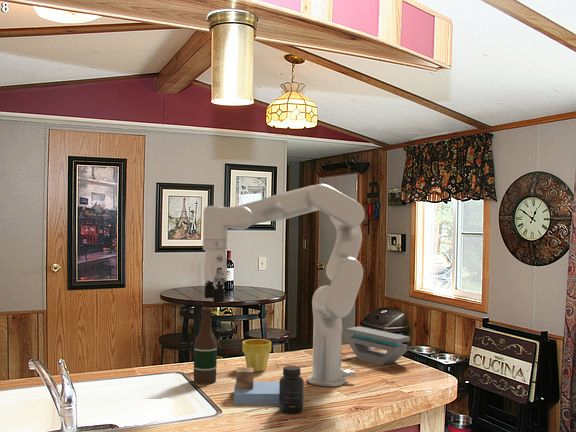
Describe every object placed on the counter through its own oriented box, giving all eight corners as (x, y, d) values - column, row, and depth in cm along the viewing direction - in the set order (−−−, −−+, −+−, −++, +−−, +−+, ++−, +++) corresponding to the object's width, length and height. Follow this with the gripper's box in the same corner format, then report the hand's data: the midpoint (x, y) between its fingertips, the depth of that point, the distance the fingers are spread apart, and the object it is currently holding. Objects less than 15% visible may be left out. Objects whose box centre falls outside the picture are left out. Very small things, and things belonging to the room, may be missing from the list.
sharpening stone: (409, 366, 207) (409, 336, 208) (396, 369, 202) (396, 339, 202) (358, 353, 226) (359, 326, 226) (345, 355, 221) (346, 328, 221)
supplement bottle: (277, 406, 158) (278, 364, 158) (301, 406, 158) (302, 364, 159) (279, 415, 151) (280, 370, 151) (304, 415, 152) (305, 370, 152)
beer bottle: (212, 385, 177) (213, 309, 177) (188, 383, 178) (190, 308, 179) (219, 378, 184) (221, 306, 185) (197, 377, 186) (199, 305, 186)
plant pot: (235, 369, 196) (236, 342, 196) (253, 364, 205) (254, 337, 205) (259, 374, 190) (260, 346, 190) (276, 368, 199) (277, 341, 199)
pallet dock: (286, 391, 172) (286, 381, 172) (289, 404, 160) (289, 393, 160) (234, 391, 171) (235, 381, 171) (233, 404, 159) (234, 393, 159)
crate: (252, 384, 169) (253, 367, 169) (253, 389, 164) (253, 372, 164) (236, 384, 169) (236, 367, 169) (236, 388, 164) (236, 371, 164)
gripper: (235, 246, 169) (234, 303, 168) (218, 244, 184) (217, 295, 184) (211, 246, 165) (210, 304, 165) (196, 244, 181) (195, 296, 181)
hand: (213, 299), depth 175 cm, fingers open, 9 cm apart
